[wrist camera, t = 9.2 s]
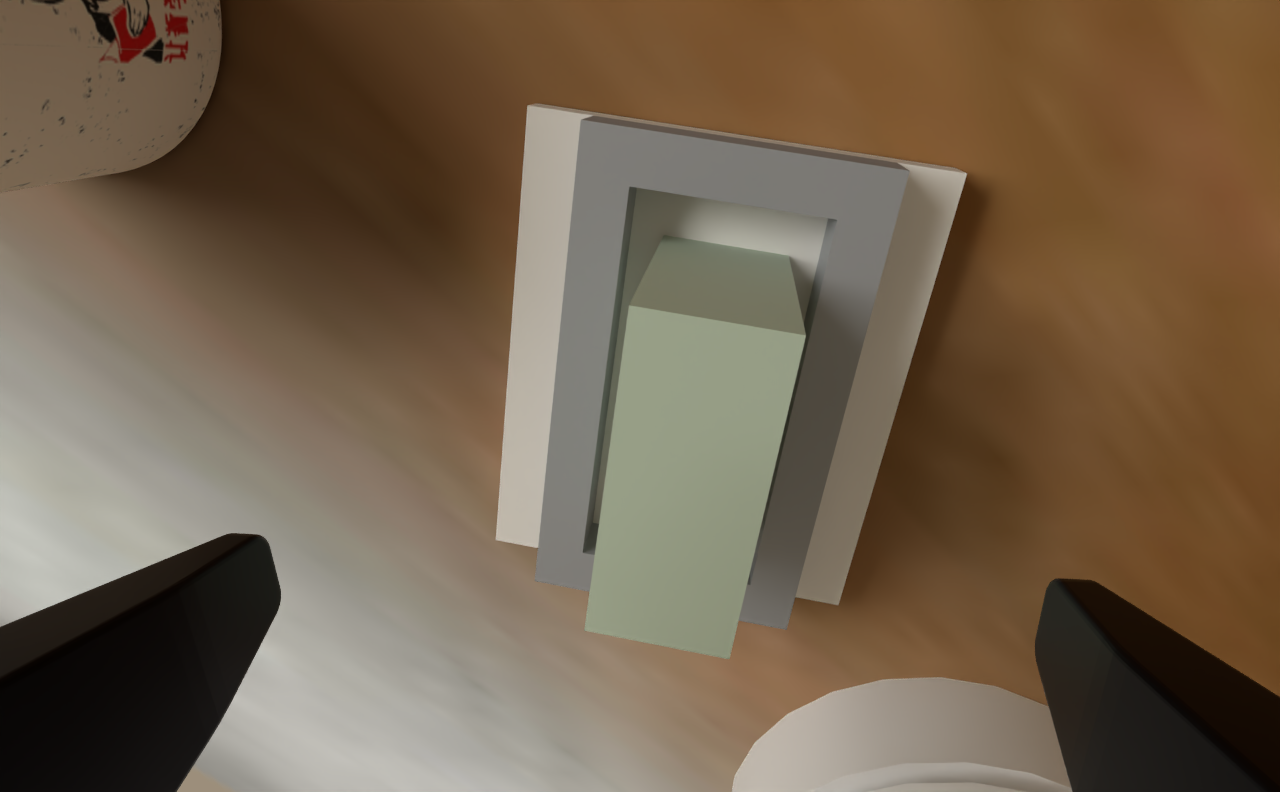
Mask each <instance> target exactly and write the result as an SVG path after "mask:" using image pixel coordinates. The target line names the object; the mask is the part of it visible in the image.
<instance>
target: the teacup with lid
mask: <svg viewBox="0 0 1280 792" xmlns="http://www.w3.org/2000/svg"><path fill="white" fill-rule="evenodd" d="M221 45H222V19H221V7H220V0H0V193H2V192H8V191H14V190H20V189H26V188H32V187H37V186H43V185H49V184H55V183H61V182H67V181H73V180H79V179H85V178H91V177H97V176H103V175H109V174H115V173H121V172H125V171H129V170H133V169H136V168H139V167H141V166H144V165H147V164H149V163H151V162H153V161H155V160H157V159H159V158H161V157H163V156H164V155H165V154H167V153H168V152H169V151H171V150H172V149H174V148H175V147H176V146H177V145H178V144H179V143H180V142H181V141H182V140H183V139H184V138H185V137H186V136H187V135H188V133H189V132H190V131H191V130H192V129H193V127H194V126H195V125H196V123H197V122H198V120H199V118H200V117H201V115H202V114H203V112H204V110H205V108H206V106H207V104H208V101H209V99H210V97H211V94H212V91H213V88H214V85H215V82H216V78H217V73H218V69H219V63H220V56H221Z"/></svg>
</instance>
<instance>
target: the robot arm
mask: <svg viewBox="0 0 1280 792" xmlns="http://www.w3.org/2000/svg"><path fill="white" fill-rule="evenodd" d="M280 601H281V589H280V585H279V581H278V577H277V573H276V569H275V565H274V561H273V557H272V553H271V549H270V546H269V543H268V542H267V540H266V539H265V538H264V537H262V536H261V535H256V534H239V533H231V534H226V535H223V536H221V537H218V538H216V539H214V540H211V541H209V542H206V543H204V544H201V545H199V546H197V547H194V548H192V549H189V550H187V551H184V552H182V553H179V554H177V555H175V556H172V557H170V558H167V559H165V560H162V561H160V562H157V563H155V564H153V565H150V566H148V567H145V568H143V569H140V570H138V571H136V572H133V573H131V574H128V575H126V576H123V577H121V578H118V579H116V580H114V581H111V582H109V583H106V584H104V585H101V586H99V587H97V588H94V589H92V590H89V591H87V592H84V593H82V594H79V595H77V596H75V597H72V598H70V599H67V600H65V601H62V602H60V603H57V604H55V605H53V606H50V607H48V608H45V609H43V610H40V611H38V612H36V613H33V614H31V615H28V616H26V617H23V618H21V619H18V620H16V621H14V622H11V623H9V624H6V625H4V626H1V627H0V792H177V790H178V789H179V787H180V786H181V784H182V782H183V781H184V779H185V778H186V776H187V774H188V773H189V772H190V770H191V768H192V767H193V765H194V764H195V762H196V761H197V759H198V757H199V756H200V754H201V753H202V751H203V750H204V748H205V746H206V745H207V743H208V742H209V740H210V738H211V737H212V735H213V734H214V732H215V730H216V729H217V727H218V725H219V724H220V722H221V720H222V718H223V716H224V715H225V713H226V711H227V709H228V707H229V705H230V704H231V702H232V700H233V698H234V696H235V694H236V692H237V690H238V688H239V686H240V684H241V682H242V680H243V678H244V676H245V674H246V672H247V670H248V668H249V666H250V665H251V663H252V661H253V659H254V657H255V655H256V653H257V651H258V649H259V647H260V645H261V643H262V641H263V639H264V637H265V635H266V633H267V631H268V629H269V627H270V625H271V623H272V622H273V620H274V618H275V616H276V614H277V611H278V609H279V605H280ZM1035 656H1036V662H1037V666H1038V670H1039V673H1040V677H1041V681H1042V684H1043V688H1044V692H1045V695H1046V699H1047V703H1048V706H1049V710H1050V714H1051V717H1052V721H1053V725H1054V728H1055V732H1056V736H1057V739H1058V743H1059V747H1060V750H1061V754H1062V757H1063V761H1064V765H1065V768H1066V772H1067V776H1068V779H1069V782H1070V786H1071V789H1072V792H1280V697H1279V696H1278V695H1276V694H1274V693H1273V692H1271V691H1270V690H1268V689H1266V688H1265V687H1263V686H1262V685H1260V684H1258V683H1257V682H1255V681H1254V680H1252V679H1250V678H1249V677H1247V676H1246V675H1244V674H1242V673H1241V672H1239V671H1238V670H1236V669H1234V668H1233V667H1231V666H1230V665H1228V664H1226V663H1225V662H1223V661H1222V660H1220V659H1219V658H1217V657H1215V656H1214V655H1212V654H1211V653H1209V652H1207V651H1206V650H1204V649H1203V648H1201V647H1199V646H1198V645H1196V644H1195V643H1193V642H1191V641H1190V640H1188V639H1187V638H1185V637H1183V636H1182V635H1180V634H1179V633H1177V632H1175V631H1174V630H1172V629H1171V628H1169V627H1167V626H1166V625H1164V624H1163V623H1161V622H1159V621H1158V620H1156V619H1155V618H1153V617H1151V616H1150V615H1148V614H1147V613H1145V612H1144V611H1142V610H1140V609H1139V608H1137V607H1136V606H1134V605H1132V604H1131V603H1129V602H1128V601H1126V600H1124V599H1123V598H1121V597H1120V596H1118V595H1116V594H1115V593H1113V592H1112V591H1110V590H1108V589H1107V588H1105V587H1104V586H1102V585H1100V584H1099V583H1097V582H1095V581H1092V580H1080V579H1060V578H1058V579H1054V580H1053V581H1051V582H1050V584H1049V585H1048V587H1047V590H1046V593H1045V598H1044V602H1043V607H1042V611H1041V616H1040V621H1039V625H1038V630H1037V634H1036V640H1035Z"/></svg>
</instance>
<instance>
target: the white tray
mask: <svg viewBox="0 0 1280 792" xmlns="http://www.w3.org/2000/svg"><path fill="white" fill-rule="evenodd" d="M966 176H967V173H965V172H963V171H961V170H959V169H957V168H952V167H946V166H939V165H933V164H926V163H920V162H913V161H907V160H900V159H894V158H887V157H881V156H875V155H868V154H862V153H855V152H849V151H842V150H836V149H829V148H823V147H816V146H810V145H803V144H797V143H791V142H784V141H778V140H771V139H765V138H758V137H752V136H745V135H739V134H732V133H726V132H719V131H713V130H706V129H700V128H694V127H687V126H681V125H674V124H668V123H661V122H655V121H648V120H642V119H635V118H629V117H622V116H616V115H610V114H603V113H597V112H590V111H584V110H577V109H571V108H564V107H558V106H551V105H545V104H532V105H527V119H526V133H525V147H524V160H523V174H522V188H521V202H520V215H519V229H518V243H517V257H516V270H515V284H514V298H513V312H512V325H511V339H510V353H509V367H508V380H507V394H506V408H505V422H504V435H503V449H502V463H501V477H500V490H499V504H498V518H497V532H496V540H499V541H504V542H510V543H515V544H520V545H525V546H531V547H536V548H538V554H537V564H536V574H535V581H537V582H543V583H548V584H553V585H558V586H563V587H568V588H573V589H579V590H584V591H589V592H590V586H591V579H592V571H593V564H594V557H595V550H596V542H597V535H598V528H599V520H600V513H601V506H602V499H603V491H604V484H605V477H606V469H607V462H608V455H609V448H610V440H611V433H612V426H613V418H614V411H615V404H616V397H617V389H618V382H619V375H620V367H621V360H622V353H623V345H624V338H625V331H626V324H627V316H628V309H629V304H630V302H631V300H632V298H633V296H634V294H635V292H636V290H637V288H638V286H639V284H640V282H641V280H642V278H643V276H644V274H645V272H646V270H647V268H648V266H649V264H650V262H651V260H652V258H653V256H654V254H655V252H656V250H657V248H658V246H659V244H660V242H661V240H662V238H663V236H664V235H667V236H673V237H679V238H685V239H691V240H697V241H703V242H710V243H716V244H722V245H728V246H734V247H740V248H746V249H752V250H758V251H764V252H770V253H776V254H782V255H788V256H789V260H790V264H791V269H792V273H793V278H794V283H795V287H796V292H797V296H798V301H799V305H800V310H801V315H802V319H803V324H804V328H805V333H806V338H805V342H804V347H803V351H802V355H801V359H800V363H799V368H798V372H797V376H796V380H795V384H794V389H793V393H792V397H791V401H790V405H789V410H788V414H787V418H786V422H785V427H784V431H783V435H782V439H781V443H780V448H779V452H778V456H777V460H776V464H775V469H774V473H773V477H772V481H771V486H770V490H769V494H768V498H767V502H766V507H765V511H764V515H763V519H762V523H761V528H760V532H759V536H758V540H757V544H756V549H755V553H754V557H753V561H752V566H751V570H750V574H749V578H748V582H747V587H746V591H745V595H744V599H743V603H742V608H741V612H740V616H739V621H744V622H749V623H754V624H759V625H764V626H770V627H775V628H780V629H785V630H786V629H787V626H788V622H789V618H790V615H791V611H792V607H793V603H794V600H795V597H797V598H803V599H808V600H813V601H818V602H824V603H829V604H834V605H839V601H840V598H841V595H842V591H843V588H844V585H845V581H846V578H847V575H848V571H849V568H850V564H851V561H852V558H853V554H854V551H855V548H856V544H857V541H858V538H859V534H860V531H861V528H862V524H863V521H864V518H865V514H866V511H867V507H868V504H869V501H870V497H871V494H872V491H873V487H874V484H875V481H876V477H877V474H878V471H879V467H880V464H881V461H882V457H883V454H884V450H885V447H886V444H887V440H888V437H889V434H890V430H891V427H892V424H893V420H894V417H895V414H896V410H897V407H898V404H899V400H900V397H901V394H902V390H903V387H904V383H905V380H906V377H907V373H908V370H909V367H910V363H911V360H912V357H913V353H914V350H915V347H916V343H917V340H918V337H919V333H920V330H921V326H922V323H923V320H924V316H925V313H926V310H927V306H928V303H929V300H930V296H931V293H932V290H933V286H934V283H935V280H936V276H937V273H938V269H939V266H940V263H941V259H942V256H943V253H944V249H945V246H946V243H947V239H948V236H949V233H950V229H951V226H952V223H953V219H954V216H955V212H956V209H957V206H958V202H959V199H960V196H961V192H962V189H963V186H964V182H965V179H966Z"/></svg>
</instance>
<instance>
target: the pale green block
mask: <svg viewBox="0 0 1280 792" xmlns="http://www.w3.org/2000/svg"><path fill="white" fill-rule="evenodd" d="M805 338H806V333H805V328H804V324H803V319H802V315H801V310H800V305H799V301H798V296H797V292H796V287H795V283H794V278H793V273H792V269H791V264H790V260H789V256H788V255H782V254H776V253H770V252H764V251H758V250H752V249H746V248H740V247H734V246H728V245H722V244H716V243H710V242H703V241H697V240H691V239H685V238H679V237H673V236H667V235H664V236H663V238H662V240H661V242H660V244H659V246H658V248H657V250H656V252H655V254H654V256H653V258H652V260H651V262H650V264H649V266H648V268H647V270H646V272H645V274H644V276H643V278H642V280H641V282H640V284H639V286H638V288H637V290H636V292H635V294H634V296H633V298H632V300H631V302H630V304H629V309H628V316H627V324H626V331H625V338H624V345H623V353H622V360H621V367H620V375H619V382H618V389H617V397H616V404H615V411H614V418H613V426H612V433H611V440H610V448H609V455H608V462H607V469H606V477H605V484H604V491H603V499H602V506H601V513H600V520H599V528H598V535H597V542H596V550H595V557H594V564H593V571H592V579H591V586H590V593H589V601H588V608H587V615H586V623H585V630H584V631H589V632H595V633H600V634H605V635H610V636H615V637H620V638H625V639H630V640H635V641H640V642H645V643H650V644H655V645H660V646H665V647H670V648H675V649H680V650H685V651H690V652H695V653H700V654H706V655H711V656H716V657H721V658H726V659H729V658H730V654H731V650H732V646H733V641H734V637H735V633H736V629H737V625H738V620H739V616H740V612H741V608H742V603H743V599H744V595H745V591H746V587H747V582H748V578H749V574H750V570H751V566H752V561H753V557H754V553H755V549H756V544H757V540H758V536H759V532H760V528H761V523H762V519H763V515H764V511H765V507H766V502H767V498H768V494H769V490H770V486H771V481H772V477H773V473H774V469H775V464H776V460H777V456H778V452H779V448H780V443H781V439H782V435H783V431H784V427H785V422H786V418H787V414H788V410H789V405H790V401H791V397H792V393H793V389H794V384H795V380H796V376H797V372H798V368H799V363H800V359H801V355H802V351H803V347H804V342H805Z"/></svg>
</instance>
